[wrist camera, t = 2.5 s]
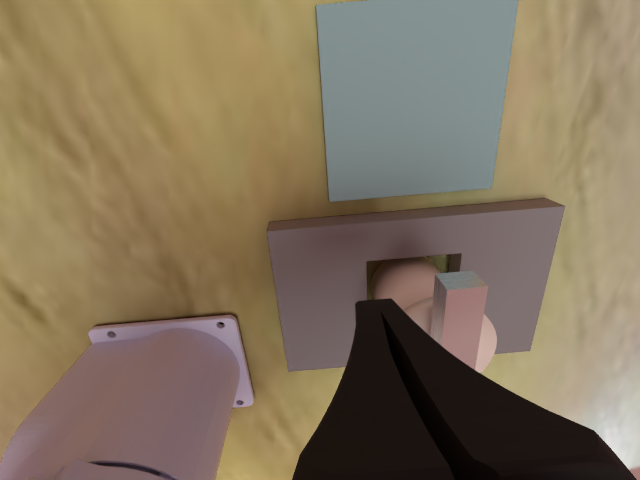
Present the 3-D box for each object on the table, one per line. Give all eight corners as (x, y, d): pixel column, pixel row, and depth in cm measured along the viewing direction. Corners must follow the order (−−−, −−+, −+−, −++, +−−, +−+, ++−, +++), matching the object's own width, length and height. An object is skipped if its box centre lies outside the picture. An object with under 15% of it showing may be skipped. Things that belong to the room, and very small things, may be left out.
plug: (365, 320, 21) (385, 395, 16) (363, 251, 19) (386, 310, 14) (442, 313, 21) (488, 387, 16) (448, 243, 19) (505, 300, 14)
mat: (329, 199, 18) (329, 201, 18) (316, 7, 14) (316, 4, 14) (487, 186, 18) (491, 188, 18) (514, -10, 14) (520, -13, 14)
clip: (452, 479, 18) (462, 504, 17) (410, 483, 18) (417, 507, 17) (483, 269, 13) (500, 285, 12) (423, 274, 13) (435, 291, 12)
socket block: (289, 355, 22) (288, 371, 21) (269, 221, 18) (266, 231, 17) (516, 335, 22) (529, 350, 21) (546, 198, 18) (565, 206, 17)
